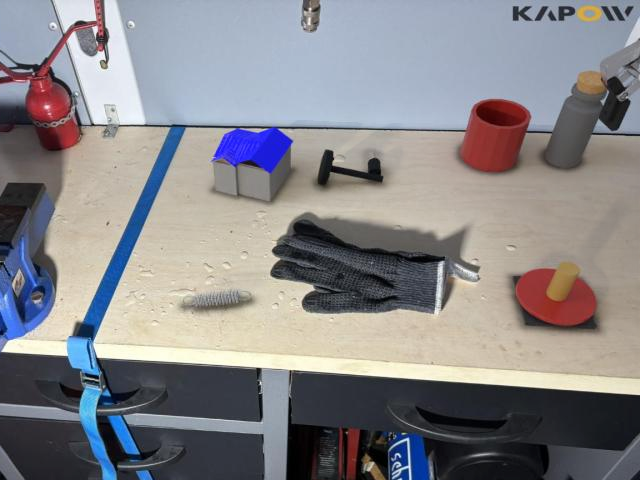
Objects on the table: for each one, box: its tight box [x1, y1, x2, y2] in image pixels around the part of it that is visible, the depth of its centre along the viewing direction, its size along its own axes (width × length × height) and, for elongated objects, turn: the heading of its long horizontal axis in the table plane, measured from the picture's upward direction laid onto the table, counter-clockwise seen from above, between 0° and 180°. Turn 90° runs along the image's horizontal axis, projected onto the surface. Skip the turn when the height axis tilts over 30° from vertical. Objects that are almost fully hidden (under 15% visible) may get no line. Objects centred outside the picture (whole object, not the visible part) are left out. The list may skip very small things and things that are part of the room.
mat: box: [512, 275, 597, 330], centre depth 83 cm, size 9×9×1 cm
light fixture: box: [317, 148, 385, 186], centre depth 105 cm, size 6×11×13 cm
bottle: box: [543, 70, 608, 169], centre depth 100 cm, size 6×6×15 cm
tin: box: [460, 98, 532, 173], centre depth 104 cm, size 9×9×8 cm
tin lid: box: [515, 261, 598, 325], centre depth 81 cm, size 10×10×6 cm
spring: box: [181, 289, 252, 308], centre depth 86 cm, size 10×2×2 cm, turn 95°
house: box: [210, 126, 294, 202], centre depth 103 cm, size 10×11×8 cm
